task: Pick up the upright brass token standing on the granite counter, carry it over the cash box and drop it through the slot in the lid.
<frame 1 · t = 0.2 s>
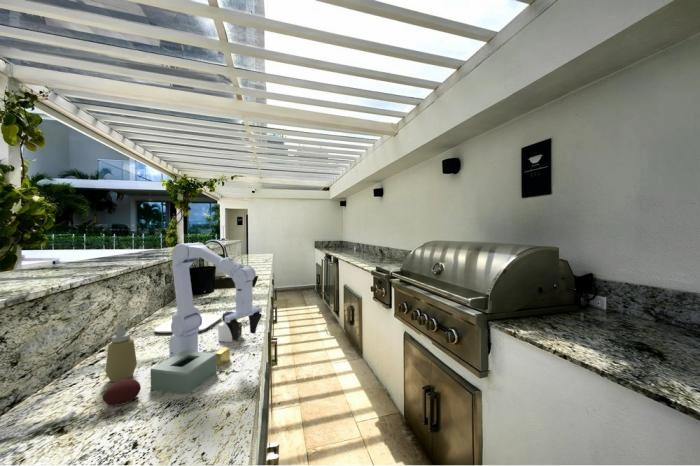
hand: (244, 336, 101), 10 cm above the countertop, tool pointing down, fingers open, 7 cm apart
squeeze bottle: (121, 378, 91), on the countertop
cash box: (185, 380, 89), on the countertop
potato: (122, 402, 78), on the countertop
plate: (190, 326, 140), on the countertop
medicine bottle: (230, 339, 123), on the countertop
token: (222, 362, 101), on the countertop
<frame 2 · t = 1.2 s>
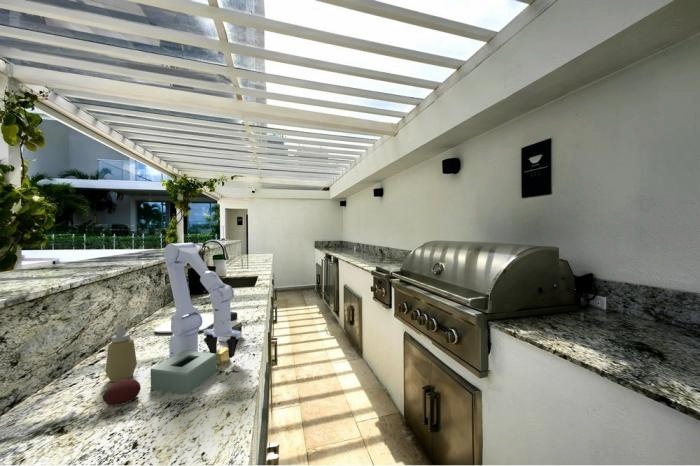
hand: (222, 355, 101), 2 cm above the countertop, tool pointing down, fingers open, 7 cm apart
nothing on the countertop moved.
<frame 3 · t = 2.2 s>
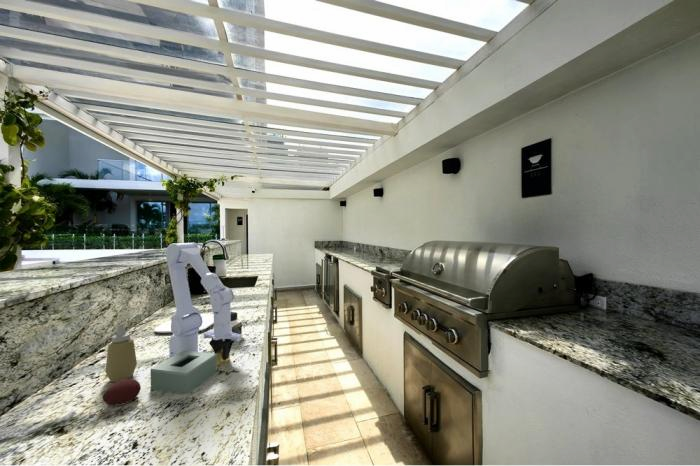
hand: (222, 358, 101), 1 cm above the countertop, tool pointing down, fingers closed on token, 2 cm apart
token: (222, 362, 101), on the countertop, touching gripper
everything else where it was.
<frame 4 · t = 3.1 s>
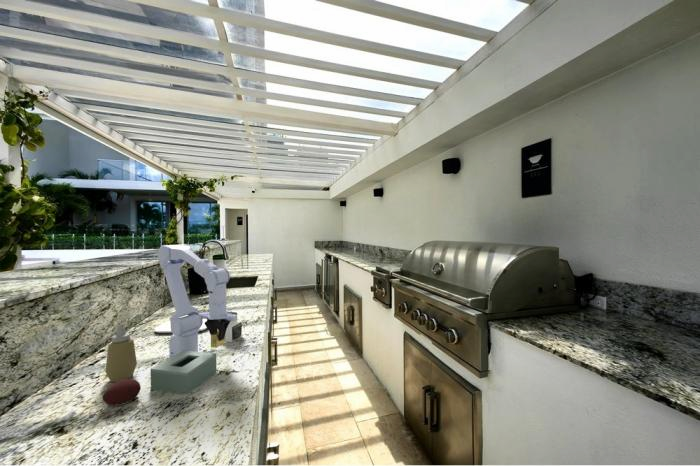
hand: (218, 339, 100), 9 cm above the countertop, tool pointing down, fingers closed on token, 2 cm apart
token: (218, 344, 100), point 7 cm above the countertop, touching gripper
everything else where it was.
when the fingers open (9 cm above the countertop, at t = 4.4 s): token drops 5 cm and tips over, resting on cash box.
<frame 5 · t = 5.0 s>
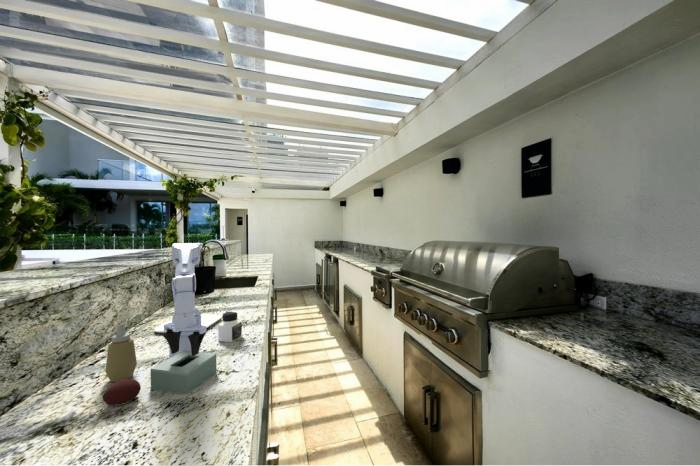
hand: (185, 353, 89), 9 cm above the countertop, tool pointing down, fingers open, 7 cm apart
token: (182, 374, 90), point 2 cm above the countertop, tilted 90°, touching cash box
everything else where it was.
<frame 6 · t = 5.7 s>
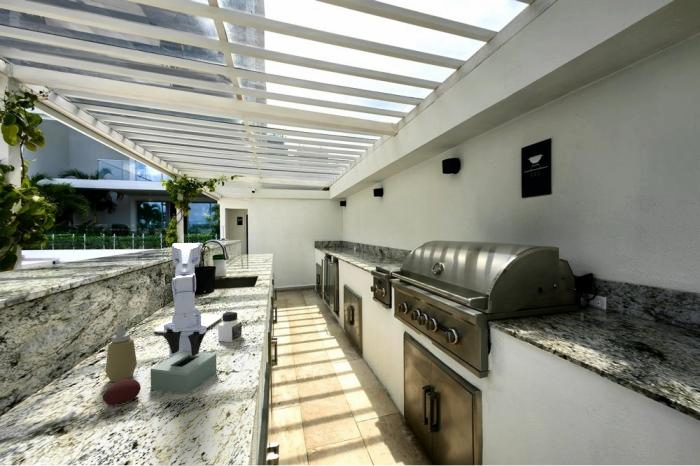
hand: (185, 353, 89), 9 cm above the countertop, tool pointing down, fingers open, 7 cm apart
nothing on the countertop moved.
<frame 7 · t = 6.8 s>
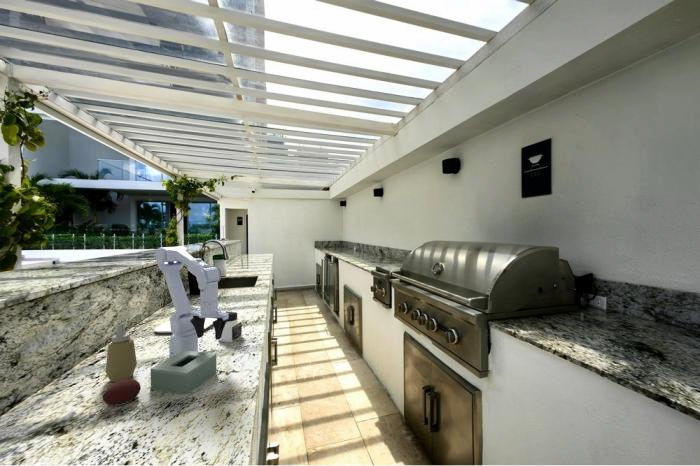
hand: (209, 337, 99), 10 cm above the countertop, tool pointing down, fingers open, 7 cm apart
nothing on the countertop moved.
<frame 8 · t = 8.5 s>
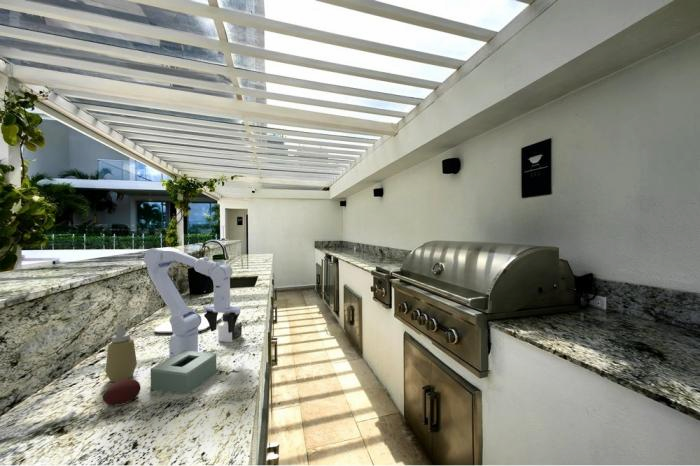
hand: (222, 331, 106), 10 cm above the countertop, tool pointing down, fingers open, 7 cm apart
nothing on the countertop moved.
at the end: token inside the target area on the cash box (1.3 cm from its centre), point 1.6 cm above the cash box's base; the gripper is holding nothing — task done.
